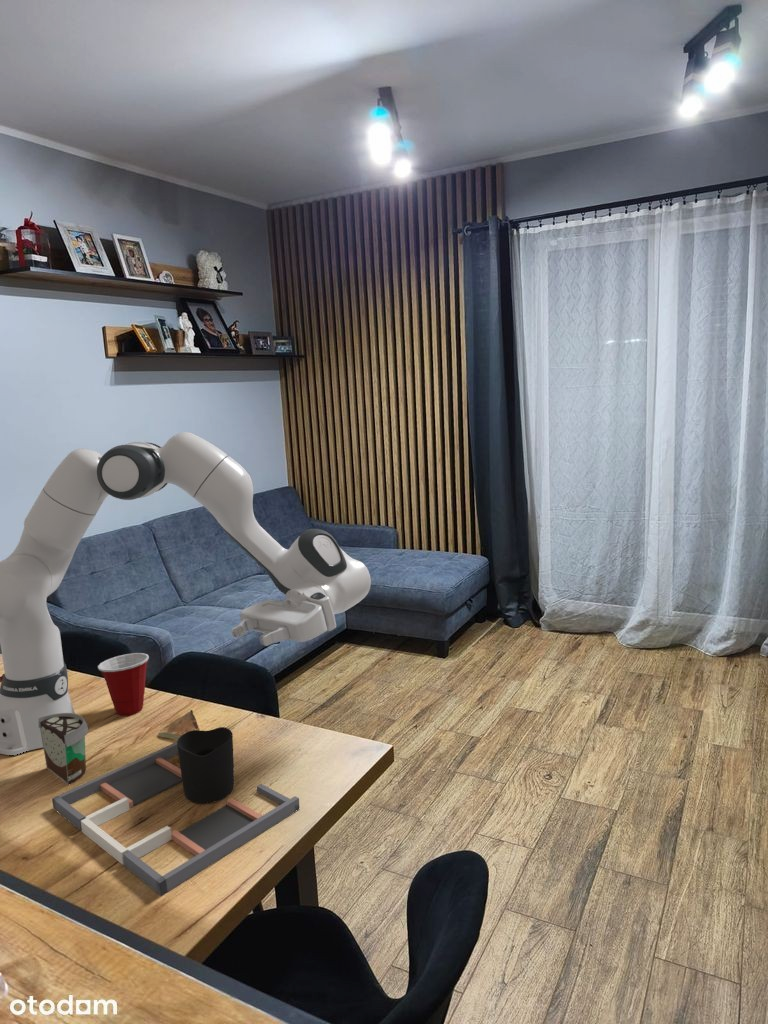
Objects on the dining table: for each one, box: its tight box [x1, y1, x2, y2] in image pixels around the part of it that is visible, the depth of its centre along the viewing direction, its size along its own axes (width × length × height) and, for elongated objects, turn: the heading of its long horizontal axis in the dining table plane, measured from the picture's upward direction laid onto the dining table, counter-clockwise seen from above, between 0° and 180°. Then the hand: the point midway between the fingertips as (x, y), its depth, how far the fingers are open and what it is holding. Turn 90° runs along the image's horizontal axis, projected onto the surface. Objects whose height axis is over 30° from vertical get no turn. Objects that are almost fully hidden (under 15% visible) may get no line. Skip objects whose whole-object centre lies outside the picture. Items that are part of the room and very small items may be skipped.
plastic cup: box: [97, 652, 150, 717], centre depth 156 cm, size 11×11×12 cm
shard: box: [158, 709, 200, 741], centre depth 147 cm, size 11×8×2 cm
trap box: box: [51, 741, 301, 896], centre depth 118 cm, size 26×34×2 cm
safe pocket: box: [81, 797, 173, 866], centre depth 111 cm, size 8×14×2 cm, turn 49°
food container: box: [38, 713, 89, 786], centre depth 131 cm, size 12×6×10 cm, turn 48°
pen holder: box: [176, 726, 235, 805], centre depth 122 cm, size 9×9×10 cm
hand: (247, 637), depth 127 cm, fingers open, 8 cm apart
